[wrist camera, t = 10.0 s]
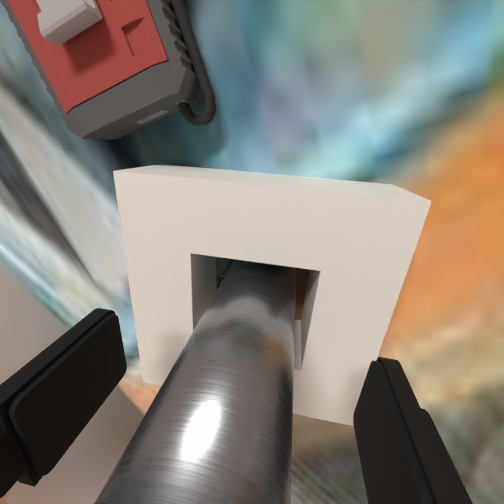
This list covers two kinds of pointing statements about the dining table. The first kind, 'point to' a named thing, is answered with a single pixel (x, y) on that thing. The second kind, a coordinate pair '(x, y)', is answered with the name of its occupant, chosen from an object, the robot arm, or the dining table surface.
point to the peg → (222, 403)
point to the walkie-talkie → (115, 62)
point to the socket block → (270, 252)
